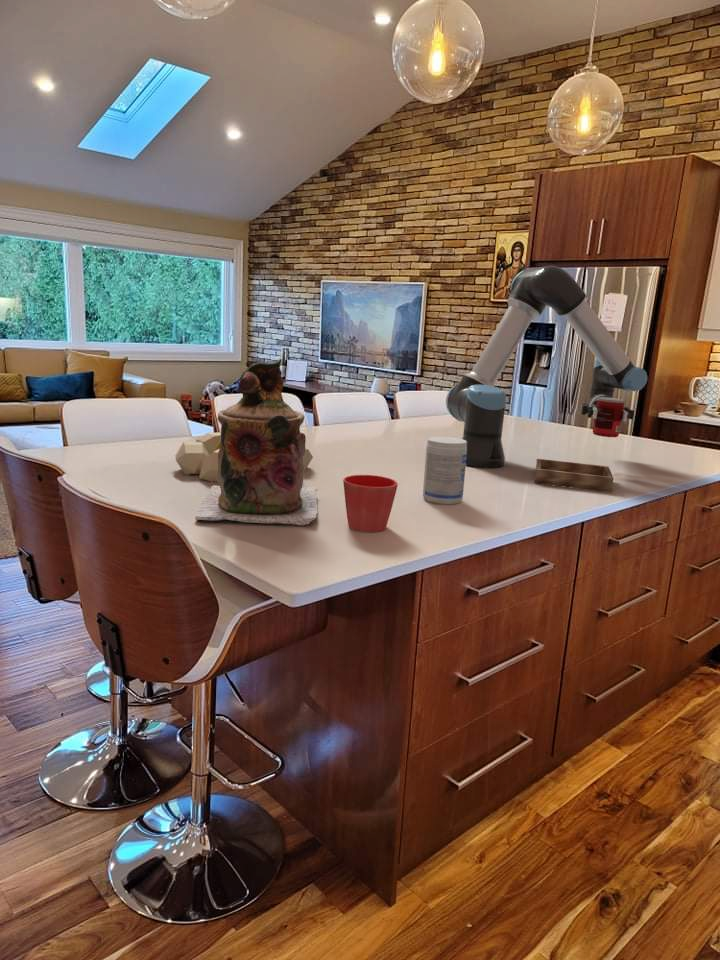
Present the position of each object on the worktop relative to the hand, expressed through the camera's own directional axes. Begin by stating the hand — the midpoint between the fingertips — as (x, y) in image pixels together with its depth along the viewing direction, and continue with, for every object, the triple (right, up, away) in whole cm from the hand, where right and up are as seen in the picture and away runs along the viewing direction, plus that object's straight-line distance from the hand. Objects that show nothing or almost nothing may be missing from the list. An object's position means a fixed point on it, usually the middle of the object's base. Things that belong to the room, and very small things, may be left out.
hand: (610, 415), depth 189 cm
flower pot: (-72, -29, -58) cm, 97 cm away
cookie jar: (-95, -25, -50) cm, 110 cm away
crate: (-14, -19, -7) cm, 25 cm away
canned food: (+1, -5, +6) cm, 8 cm away
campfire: (-104, -17, -16) cm, 107 cm away
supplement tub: (-54, -24, -35) cm, 68 cm away
